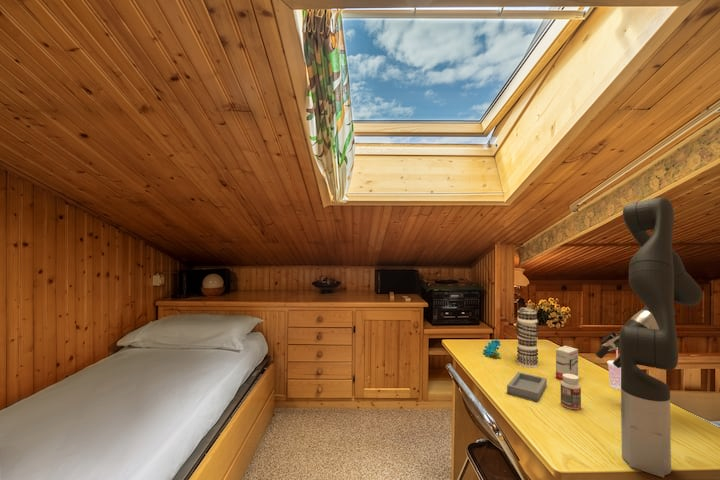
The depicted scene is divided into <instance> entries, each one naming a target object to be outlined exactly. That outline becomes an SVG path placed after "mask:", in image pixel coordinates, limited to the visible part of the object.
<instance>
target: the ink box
mask: <svg viewBox="0 0 720 480" xmlns="http://www.w3.org/2000/svg"><path fill="white" fill-rule="evenodd" d="M563 374H573V375H576V376H578V377H579V349H578V348H576V347H575V348H574V347H571V346H568V345H563V346H561V347H558V348H556V349H555V379H557V380H560V381H562V380H563V378H562V375H563Z"/></svg>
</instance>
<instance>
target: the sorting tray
mask: <svg viewBox="0 0 720 480" xmlns="http://www.w3.org/2000/svg"><path fill="white" fill-rule="evenodd" d="M547 380H548V379H547V378H546V377H544V376H543V377H541V376H537V375H534V374H530V373H525V372H520V371H517V373H516V374H515V375H514V376H513V377H512V379H511V380H510V381H509V382H508V384H507V385H506V394H508V395H511V396H513V397H514V396H515V397H518V398H521V399H526V400H530V401H532V402H536V403H539V401H540V400H541V398H542V396H543V394H544V392H545V390H546V389H547V386H548V385H547V383H548V381H547Z"/></svg>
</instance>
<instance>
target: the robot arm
mask: <svg viewBox="0 0 720 480" xmlns="http://www.w3.org/2000/svg"><path fill="white" fill-rule="evenodd" d="M674 211H675V210H674V207H673V204H672V202H671V201H670V199H668V198H666V197H653V198H649V199H648V198H647V199H643V200H640V201H634V202H631V203H627V204H625V205H624V207H623V210H622V218H623V222H624V224H625V225H626V228H627V229H628V231H629V233H630V234H631V236H632V237H633V238H634V239H635V241H636V242H637V245H639V246H640V247H639V249H638V250H637V251H636V252H635V253H634V255H633V256H632V258H631V259H630V261H629V265H628V266H629V267H628V284H629V285H628V286H629V287H630V288H631V290H632V292H633V293H634V294H635V295H636V296H637V298H638V299H639V301H641V302H642V303H643V304H644V307H642V309H640V310H639V311H638V312H637V313H635V314H633V316H632V317H631V318H630V319H628V321H627V322H625V323H624V324H623V325H622V326H621V327H620V331H619V334H617V333H616V332H615V331H611V332H610V333H608V334H607V335H606V336H605V337H604V338H603V339H602V340H600V342H599V343H600V344H601V347H600V348H599V349H598V350H597V351H596V352H595V356H597V358H599V359H603V358H604V357H605V356H606V355H607V354H608V353H609V352H610V351H613V350H615V351H616V350H619V355H618V358H617V359H614V360H613V361H614V362H613V364H614V365H615V366H616V367H617V368H620V367H621V390H620V426H621V427H620V428H621V429H620V430H621V431H620V432H621V433H620V434H621V437H620V438H621V457H622V459H623V460H624V461H625V462H626V463H627V464H628V466H629V467H630V468H632V469H636V470H639V471H642V472H645V473H647V474H651V475H655V476H656V477H657V476H658V477H660V478H663V479H665V476H666V475H669V474H671V472H672V452H671V451H672V450H671V449H672V445H671V443H672V442H671V441H672V440H671V439H672V437H671V431H672V430H671V389H670V387H669V386H668V384H666V383H665V382H664V381H662V380H660V379H659V378H656V377H653V376H652V375H650V374H648V373H646V372H645V371H643V369H641V368H640V367H639V366H643V367H648V368H655V369H657V370H658V369H659V370H665V371H674V370H675V369H676V368H677V366H678V363H679V347H678V337H677V327H676V319H675V317H676V316H675V315H676V313H677V311H676V310H675V304H674V303H676V304H680V305H682V306H686V307H693V306H696V305H698V304H699V303H700V302H701V301H702V299H703V291H702V288H701V287H700V285H699V284H698V283H697V282H696V281H695V279H694V278H693V277H692V276H691V275H690V274H689V273H688V272H687V271H686V268H685V266H684V264H683V261H682V259H681V257H680V256H679V254H678V253H677V252H676V251H675V250H674V249H673V235H674V234H673V233H674V222H675V221H674V219H675V213H674ZM648 231H652V233H651V234H650V233H649V232H648Z"/></svg>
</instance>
